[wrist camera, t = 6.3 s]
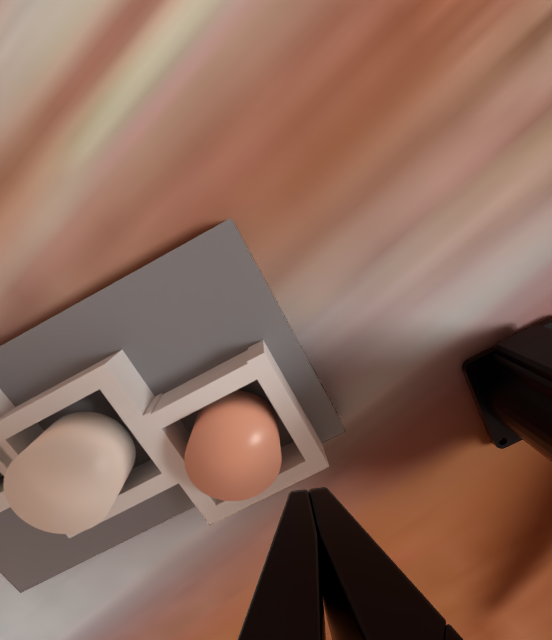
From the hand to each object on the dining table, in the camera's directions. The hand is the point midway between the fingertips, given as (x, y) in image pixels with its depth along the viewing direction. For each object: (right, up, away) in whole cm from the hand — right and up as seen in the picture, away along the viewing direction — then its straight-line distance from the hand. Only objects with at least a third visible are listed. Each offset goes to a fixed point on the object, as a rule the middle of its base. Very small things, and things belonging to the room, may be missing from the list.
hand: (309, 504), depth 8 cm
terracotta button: (-3, -2, +10) cm, 11 cm away
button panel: (-10, -1, +12) cm, 15 cm away
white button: (-10, -2, +9) cm, 13 cm away
